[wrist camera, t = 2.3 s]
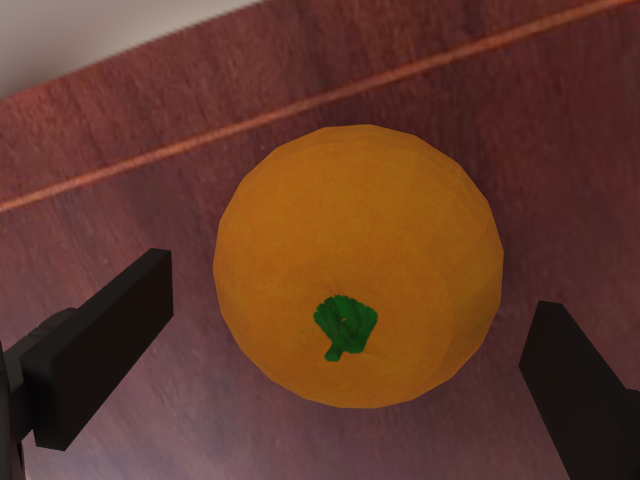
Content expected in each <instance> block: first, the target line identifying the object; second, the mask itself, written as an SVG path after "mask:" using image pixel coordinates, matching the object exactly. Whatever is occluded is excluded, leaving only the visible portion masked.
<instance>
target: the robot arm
mask: <svg viewBox="0 0 640 480" xmlns="http://www.w3.org/2000/svg"><path fill="white" fill-rule="evenodd" d="M172 317H173V288H172V259H171V251H170V250H162V249H155V248H150V249H149V250H148V251H147V252H146V253H144V254H143V255H142V256H141V257H140V258H138V259H137V260H136V261H135V262H134V263H132V264H131V265H130V266H129V267H127V268H126V269H125V270H124V271H123V272H121V273H120V274H119V275H118V276H117V277H115V278H114V279H113V280H112V281H111V282H109V283H108V284H107V285H106V286H105V287H103V288H102V289H101V290H100V291H98V292H97V293H96V294H95V295H94V296H92V297H91V298H90V299H89V300H88V301H86V302H85V303H84V304H83V305H82V306H80V307H79V308H78V309H75V308H67V309H65V310H63V311H60V312H58V313H56V314H54V315H51V316H50V317H49V318H48V319H46V320H45V321H44V322H42V323H41V324H40V325H39V327H36V328H35V329H34V330H32V331H31V332H30V333H28V336H25V337H23V338H22V339H21V340H19V341H18V342H17V343H16V344H14V345H13V346H12V347H11V348H9V349H8V350H7V351H5V352H4V353H3V350H2V345H1V341H0V480H26V478H25V465H24V453H23V446H22V442H21V441H22V440H23V439H24V438H25V437H26V435H27V434H28V433H29V432H30V431H31V430H32V429H33V432H34V437H35V443H36V446H37V447H43V448H49V449H55V450H60V451H65V450H66V449H67V448H68V446H69V445H70V444H71V443H72V441H73V440H74V439H75V438H76V436H77V435H78V434H79V433H80V431H81V430H82V429H83V428H84V426H85V425H86V424H87V423H88V421H89V420H90V419H91V418H92V416H93V415H94V414H95V413H96V411H97V410H98V409H99V408H100V406H101V405H102V404H103V403H104V401H105V400H106V399H107V398H108V396H109V395H110V394H111V393H112V392H113V390H114V389H115V388H116V387H117V385H118V384H119V383H120V382H121V380H122V379H123V378H124V377H125V375H126V374H127V373H128V372H129V370H130V369H131V368H132V367H133V365H134V364H135V363H136V362H137V360H138V359H139V358H140V357H141V355H142V354H143V353H144V352H145V350H146V349H147V348H148V347H149V345H150V344H151V343H152V342H153V340H154V339H155V338H156V337H157V335H158V334H159V333H160V332H161V330H162V329H163V328H164V327H165V325H166V324H167V323H168V322H169V320H170V319H171V318H172ZM518 366H519V369H520V371H521V373H522V375H523V377H524V379H525V382H526V384H527V386H528V388H529V390H530V393H531V395H532V397H533V399H534V401H535V403H536V406H537V408H538V410H539V412H540V414H541V417H542V419H543V421H544V423H545V425H546V427H547V430H548V432H549V434H550V436H551V438H552V440H553V443H554V445H555V447H556V449H557V451H558V454H559V456H560V458H561V460H562V462H563V464H564V467H565V469H566V471H567V473H568V475H569V478H570V480H640V392H639V391H638V390H631V389H626V388H625V387H624V385H623V384H622V383H621V381H620V380H619V379H618V378H617V376H616V375H615V374H614V372H613V371H612V370H611V368H610V367H609V366H608V364H607V363H606V362H605V360H604V359H603V358H602V356H601V355H600V354H599V352H598V351H597V350H596V348H595V347H594V346H593V344H592V343H591V342H590V340H589V339H588V338H587V336H586V335H585V334H584V332H583V331H582V330H581V329H580V327H579V326H578V325H577V323H576V322H575V321H574V319H573V318H572V317H571V315H570V314H569V313H568V311H567V310H566V309H565V307H564V306H563V305H562V304H561V303H553V302H546V301H539V302H538V305H537V308H536V311H535V314H534V318H533V321H532V324H531V327H530V330H529V333H528V337H527V340H526V343H525V346H524V349H523V353H522V356H521V359H520V362H519V365H518Z"/></svg>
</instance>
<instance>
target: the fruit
mask: <svg viewBox="0 0 640 480" xmlns="http://www.w3.org/2000/svg"><path fill="white" fill-rule="evenodd" d="M503 256H504V251H503V247H502V244H501V241H500V238H499V234H498V231H497V228H496V225H495V221H494V218H493V215H492V212H491V209H490V206H489V204H488V201H487V200H486V198H485V197H484V196H483V194H482V193H481V192H480V191H479V189H478V188H477V187H476V185H475V184H474V183H473V181H472V180H471V179H470V178H469V176H468V175H467V174H466V172H465V171H464V170H463V168H462V167H461V166H460V165H459V164H458V163H457V162H456V161H454V160H453V159H451V158H449V157H448V156H446V155H445V154H443V153H442V152H440V151H439V150H437V149H436V148H434V147H432V146H431V145H429V144H428V143H426V142H425V141H423V140H422V139H420V138H419V137H417V136H415V135H411V134H407V133H403V132H399V131H395V130H391V129H388V128H384V127H380V126H376V125H372V124H365V125H351V126H337V127H324V128H322V129H319V130H317V131H315V132H312V133H310V134H307V135H305V136H303V137H300V138H298V139H295V140H293V141H291V142H288V143H286V144H283V145H281V146H279V147H277V148H276V149H275V150H274V151H273V152H272V153H270V154H269V155H268V156H267V157H266V158H265V159H264V160H263V161H261V162H260V163H259V164H258V165H257V166H256V167H255V168H254V169H252V170H251V171H250V172H249V173H248V174H247V175H246V176H245V177H244V178H243V180H242V181H241V182H240V184H239V186H238V188H237V190H236V192H235V193H234V195H233V197H232V199H231V201H230V203H229V205H228V206H227V208H226V210H225V212H224V214H223V216H222V217H221V219H220V223H219V229H218V235H217V242H216V249H215V255H214V262H213V274H214V279H215V285H216V290H217V295H218V300H219V306H220V310H221V314H222V316H223V318H224V320H225V322H226V324H227V325H228V327H229V329H230V331H231V333H232V335H233V336H234V338H235V340H236V342H237V344H238V345H239V347H240V349H241V350H242V351H243V353H244V354H245V355H246V356H247V357H248V358H249V359H250V360H251V361H252V362H253V363H254V364H255V365H256V366H257V367H258V368H259V369H260V370H261V371H262V372H263V373H264V374H265V375H266V376H267V377H268V378H269V379H271V380H272V381H274V382H276V383H278V384H279V385H281V386H283V387H285V388H286V389H288V390H290V391H292V392H293V393H295V394H297V395H299V396H300V397H302V398H305V399H308V400H312V401H316V402H319V403H323V404H327V405H330V406H334V407H338V408H380V407H384V406H388V405H393V404H397V403H401V402H405V401H409V400H413V399H415V398H417V397H418V396H420V395H422V394H424V393H426V392H427V391H429V390H431V389H433V388H435V387H436V386H438V385H440V384H442V383H444V382H445V381H447V380H448V379H450V378H451V377H452V376H453V375H454V374H455V373H456V372H457V371H458V370H459V369H460V368H461V367H462V366H463V365H464V364H465V363H466V362H467V361H468V360H469V359H470V358H471V356H472V355H473V354H474V353H475V352H476V351H477V350H478V349H479V348H480V346H481V344H482V343H483V341H484V339H485V336H486V334H487V332H488V330H489V327H490V325H491V323H492V321H493V319H494V316H495V314H496V312H497V310H498V308H499V305H500V301H501V286H502V271H503Z"/></svg>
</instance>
